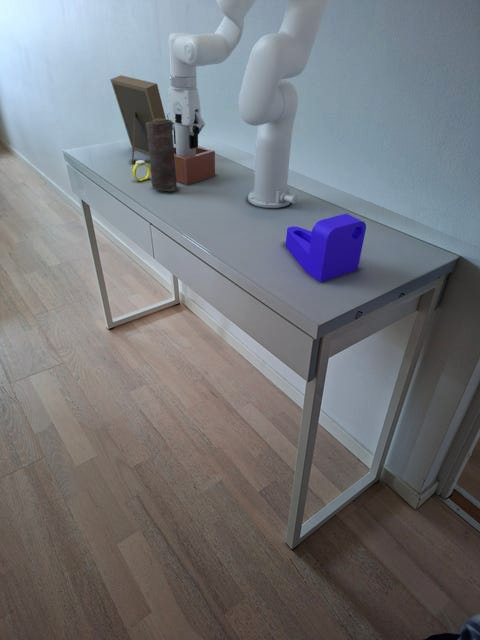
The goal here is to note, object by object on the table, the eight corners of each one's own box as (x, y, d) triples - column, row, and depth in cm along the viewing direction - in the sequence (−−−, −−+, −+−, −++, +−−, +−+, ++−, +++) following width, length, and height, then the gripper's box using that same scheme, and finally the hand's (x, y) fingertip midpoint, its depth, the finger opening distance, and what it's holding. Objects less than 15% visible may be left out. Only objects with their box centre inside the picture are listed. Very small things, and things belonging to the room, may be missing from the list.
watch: (147, 177, 147) (146, 158, 143) (152, 179, 145) (151, 160, 142) (132, 181, 143) (129, 162, 140) (137, 183, 142) (134, 164, 138)
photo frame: (141, 146, 175) (134, 74, 161) (175, 160, 163) (171, 82, 148) (107, 153, 167) (96, 77, 152) (140, 167, 154) (132, 86, 140)
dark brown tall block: (160, 195, 134) (154, 123, 122) (147, 188, 138) (140, 118, 127) (181, 190, 138) (178, 120, 126) (168, 183, 142) (164, 115, 131)
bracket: (357, 269, 101) (367, 219, 94) (320, 281, 96) (328, 230, 89) (305, 238, 113) (311, 192, 106) (270, 248, 108) (274, 200, 101)
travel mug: (196, 179, 147) (194, 112, 135) (176, 178, 147) (172, 111, 135) (198, 172, 152) (196, 108, 140) (178, 172, 152) (175, 107, 140)
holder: (215, 175, 150) (215, 150, 145) (187, 185, 142) (186, 159, 137) (187, 167, 157) (186, 143, 152) (159, 175, 148) (157, 150, 144)
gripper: (154, 80, 135) (158, 142, 146) (195, 87, 126) (197, 153, 137) (172, 77, 140) (175, 138, 151) (214, 84, 131) (214, 149, 142)
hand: (186, 145), depth 144 cm, fingers closed on travel mug, 6 cm apart
